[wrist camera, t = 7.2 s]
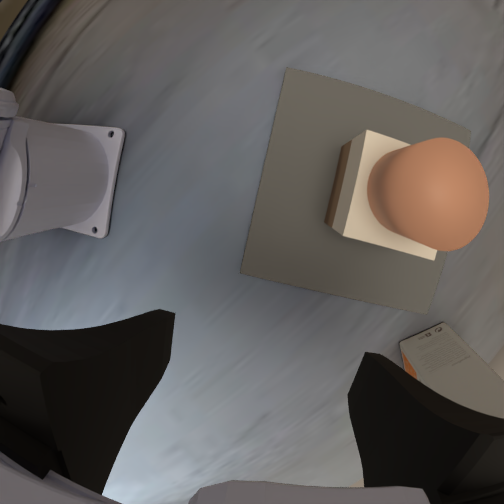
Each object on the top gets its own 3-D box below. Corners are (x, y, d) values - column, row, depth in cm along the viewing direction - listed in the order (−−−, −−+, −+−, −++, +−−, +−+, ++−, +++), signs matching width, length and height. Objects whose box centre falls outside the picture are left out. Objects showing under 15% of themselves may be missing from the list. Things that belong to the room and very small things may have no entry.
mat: (240, 271, 21) (239, 273, 21) (286, 69, 18) (286, 67, 18) (424, 312, 21) (426, 314, 20) (468, 131, 18) (470, 131, 17)
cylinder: (360, 227, 14) (390, 241, 10) (372, 140, 13) (405, 124, 9) (434, 241, 13) (478, 258, 10) (446, 160, 13) (493, 155, 9)
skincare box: (396, 341, 21) (466, 448, 10) (443, 320, 21) (533, 406, 9) (406, 397, 22) (457, 501, 10) (449, 377, 22) (514, 468, 10)
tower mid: (331, 227, 17) (342, 235, 14) (352, 139, 16) (366, 129, 13) (411, 249, 17) (434, 260, 14) (430, 166, 15) (456, 163, 13)
